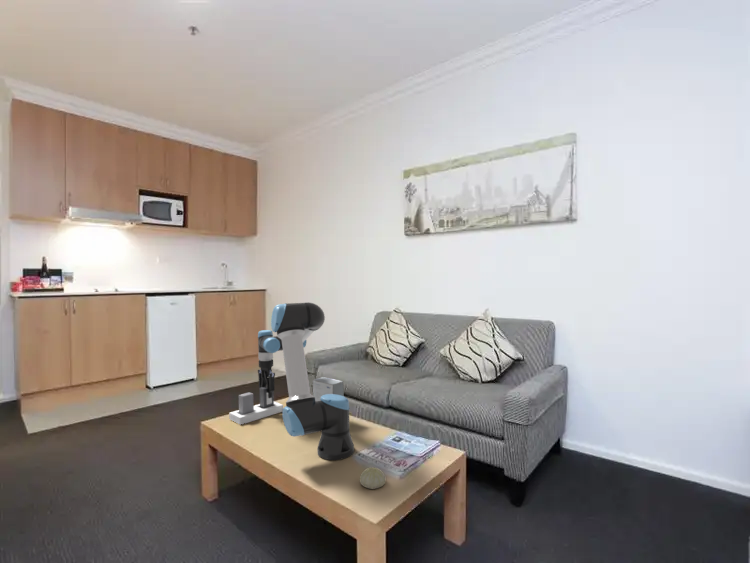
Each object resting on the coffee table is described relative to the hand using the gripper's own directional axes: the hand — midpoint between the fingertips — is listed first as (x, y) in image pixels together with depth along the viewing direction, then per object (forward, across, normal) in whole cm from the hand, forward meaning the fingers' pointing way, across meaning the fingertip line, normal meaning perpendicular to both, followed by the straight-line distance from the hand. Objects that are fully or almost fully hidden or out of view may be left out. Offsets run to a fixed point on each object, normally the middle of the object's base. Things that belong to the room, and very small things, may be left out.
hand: (266, 402), depth 211 cm
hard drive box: (+5, -33, -15) cm, 37 cm away
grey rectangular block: (+4, 0, 0) cm, 4 cm away
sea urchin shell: (+6, -91, +14) cm, 92 cm away
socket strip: (+5, 0, +6) cm, 8 cm away
